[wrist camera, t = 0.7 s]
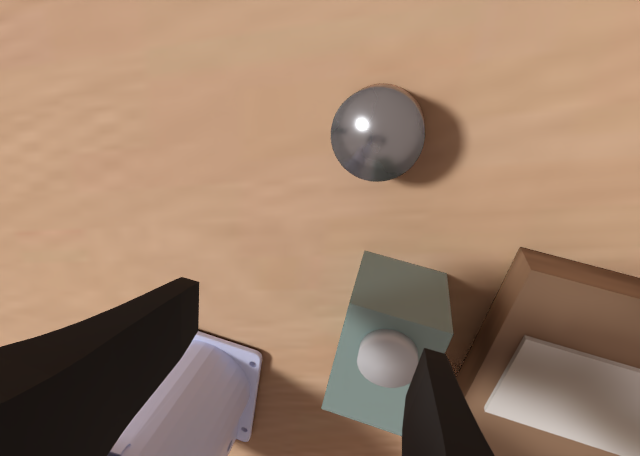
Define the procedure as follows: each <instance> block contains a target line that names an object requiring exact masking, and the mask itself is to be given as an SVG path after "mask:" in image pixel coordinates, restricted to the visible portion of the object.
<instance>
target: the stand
mask: <svg viewBox="0 0 640 456" xmlns="http://www.w3.org/2000/svg"><path fill="white" fill-rule="evenodd" d="M456 379H457V381H458V384H459V386H460V388H461V390H462V393H463V395H464V397H465V399H466V401H467V403H468V405H469V407H470V409H471V412H472V414H473V416H474V418H475V420H476V422H477V424H478V426H479V428H480V429H481V431H482V433H483V435H484V437H485V439H486V441H487V443H488V444H489V446H490V448H491V450H492V451H493V453H494V455H495V456H640V278H637V277H633V276H629V275H625V274H621V273H617V272H614V271H610V270H606V269H602V268H598V267H595V266H591V265H587V264H583V263H579V262H575V261H572V260H568V259H564V258H560V257H556V256H553V255H549V254H545V253H541V252H537V251H533V250H530V249H526V248H522V247H520V248H519V250H518V252H517V254H516V256H515V258H514V261H513V263H512V265H511V267H510V269H509V271H508V273H507V275H506V277H505V279H504V281H503V283H502V285H501V287H500V289H499V291H498V293H497V295H496V297H495V299H494V302H493V304H492V306H491V308H490V310H489V312H488V314H487V316H486V318H485V320H484V322H483V324H482V326H481V328H480V330H479V332H478V334H477V336H476V338H475V340H474V343H473V345H472V347H471V349H470V351H469V353H468V355H467V357H466V359H465V361H464V363H463V365H462V367H461V369H460V371H459V373H458V375H457V377H456Z"/></svg>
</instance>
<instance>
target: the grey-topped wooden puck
mask: <svg viewBox="0 0 640 456" xmlns="http://www.w3.org/2000/svg"><path fill="white" fill-rule="evenodd" d="M424 138H425V124H424V116H423V113H422V110H421V108H420V105H419V104H418V102H417V101H416V99H415V98H414V97H413V96H412V95H411V94H410V93H409V92H407V91H406V90H404V89H403V88H400V87H398V86H395V85H392V84H374V85H370V86H367V87H365V88H363V89H361V90H360V91H358V92H356V93H355V94H353V95H352V96H350V97H349V98H348V99H347V100H346V101H345V102H344V103H343V104H342V105H341V106H340V108H339V109H338V111H337V113H336V114H335V117H334V119H333V123H332V127H331V143H332V147H333V151H334V153H335V156H336V157H337V159H338V161H339V162H340V163H341V165H342V166H343V167H344V168H345V169H346V170H347V171H348V172H350V173H351V174H353V175H354V176H356V177H358V178H361V179H364V180H368V181H377V182H378V181H386V180H391V179H394V178H396V177H398V176H400V175H402V174H403V173H405V172H406V171H407V170H409V169H410V168H411V167H412V166H413V164H414V163H415V162H416V160H417V159H418V157H419V155H420V153H421V151H422V148H423V144H424Z"/></svg>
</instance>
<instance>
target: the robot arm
mask: <svg viewBox="0 0 640 456" xmlns="http://www.w3.org/2000/svg"><path fill="white" fill-rule="evenodd" d="M198 314H199V282H197V281H194V280H190V279H187V278H183V277H181V278H178V279H176V280H174V281H172V282H169V283H167V284H165V285H163V286H161V287H159V288H156V289H154V290H152V291H150V292H148V293H146V294H144V295H142V296H139V297H137V298H135V299H133V300H131V301H128V302H126V303H124V304H122V305H120V306H117V307H115V308H113V309H110V310H108V311H105V312H103V313H100V314H98V315H96V316H93V317H91V318H88V319H86V320H83V321H81V322H78V323H76V324H73V325H70V326H67V327H65V328H62V329H59V330H56V331H53V332H50V333H47V334H44V335H41V336H37V337H34V338H31V339H27V340H24V341H20V342H16V343H13V344H9V345H6V346H2V347H0V456H228V454H229V452H230V450H231V448H232V446H233V444H234V442H235V440H236V439H238V440H240V441H243V442H247V441H249V439H250V437H251V433H252V426H253V419H254V412H255V405H256V398H257V392H258V385H259V378H260V371H261V364H262V354H261V353H260V352H259V351H257V350H254V349H251V348H248V347H245V346H242V345H239V344H236V343H233V342H230V341H227V340H224V339H221V338H218V337H215V336H212V335H209V334H206V333H202V332H199V331H198ZM254 362H255V363H254ZM402 456H495V455H494V453H493V451H492V450H491V448H490V446H489V444H488V443H487V441H486V439H485V437H484V435H483V433H482V431H481V429H480V428H479V426H478V424H477V422H476V420H475V418H474V416H473V414H472V412H471V409H470V407H469V405H468V403H467V401H466V399H465V397H464V395H463V393H462V390H461V388H460V386H459V384H458V381H457V379H456V377H455V374H454V372H453V370H452V367H451V365H450V362H449V360H448V358H447V356H446V354H444V353H441V352H438V351H434V350H431V349H427V348H424V349H423V352H422V354H421V357H420V360H419V362H418V365H417V368H416V370H415V373H414V375H413V378H412V381H411V383H410V386H409V389H408V391H407V394H406V398H405V407H404V416H403V426H402Z"/></svg>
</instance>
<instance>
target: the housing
mask: <svg viewBox="0 0 640 456" xmlns="http://www.w3.org/2000/svg"><path fill="white" fill-rule="evenodd" d="M452 336H453V326H452V316H451V307H450V298H449V289H448V279H447V273H443V272H440V271H436V270H433V269H429V268H425V267H422V266H418V265H415V264H411V263H408V262H404V261H400V260H397V259H393V258H390V257H386V256H382V255H379V254H375V253H372V252H368V251H364V254H363V258H362V261H361V265H360V268H359V272H358V275H357V278H356V282H355V285H354V289H353V292H352V296H351V299H350V303H349V306H348V310H347V314H346V318H345V321H344V325H343V329H342V333H341V336H340V340H339V344H338V347H337V351H336V355H335V359H334V362H333V366H332V370H331V374H330V377H329V381H328V385H327V389H326V392H325V396H324V400H323V404H322V407H321V409H323V410H326V411H329V412H332V413H335V414H338V415H341V416H344V417H347V418H350V419H353V420H356V421H359V422H361V423H364V424H367V425H370V426H373V427H376V428H379V429H382V430H385V431H388V432H391V433H394V434H397V435H400V436H402V426H403V416H404V407H405V398H406V394H407V391H408V389H409V386H410V383H411V381H412V378H413V375H414V373H415V370H416V368H417V365H418V362H419V360H420V357H421V354H422V352H423V349H424V348H427V349H431V350H434V351H438V352H441V353H444V354H445V352H446V350H447V347H448V345H449V343H450V341H451V338H452Z"/></svg>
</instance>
